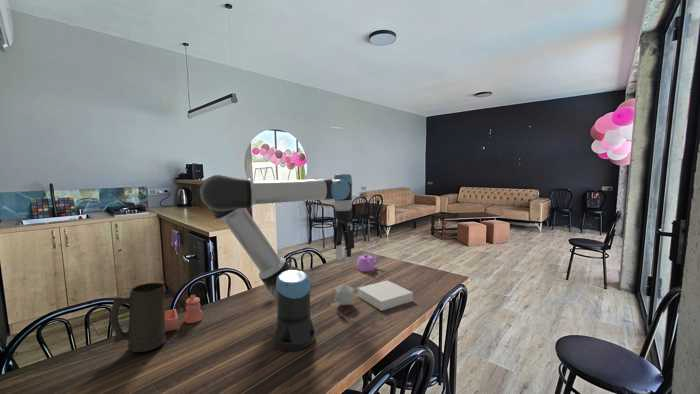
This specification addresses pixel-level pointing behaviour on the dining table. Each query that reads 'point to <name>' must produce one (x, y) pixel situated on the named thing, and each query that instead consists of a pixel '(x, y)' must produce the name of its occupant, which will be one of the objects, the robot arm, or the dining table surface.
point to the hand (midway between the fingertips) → (343, 261)
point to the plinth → (385, 295)
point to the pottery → (190, 316)
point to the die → (344, 294)
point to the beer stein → (142, 317)
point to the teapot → (366, 263)
